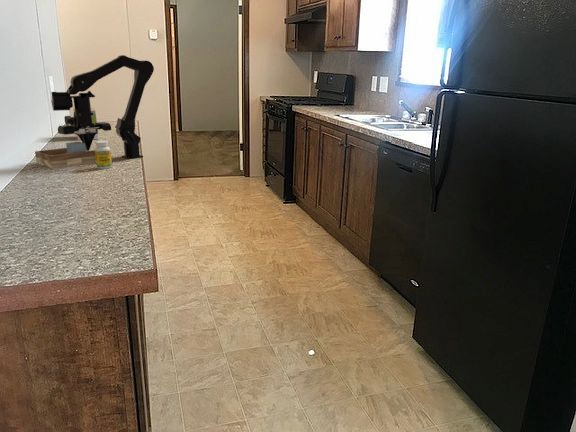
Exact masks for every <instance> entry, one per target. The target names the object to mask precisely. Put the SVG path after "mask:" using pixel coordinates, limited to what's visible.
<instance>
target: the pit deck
mask: <svg viewBox="0 0 576 432" xmlns="http://www.w3.org/2000/svg"><path fill="white" fill-rule="evenodd" d="M34 153H35V160H36V161H35V162H36V163H37V162H38V163H40V164H39V165H41V164H43V165H42V166H44V165H45V166H44V167H46V168H47V167H48V168H50V169H58V168H65V167H73V166H80V165H85V164H93V163H96V156H95V149H94V150H89V151H87V150H86V151H85V152H77V153H69V154H67V147H62V148H53V149H45V150H36V151H34ZM38 163H37V164H38Z"/></svg>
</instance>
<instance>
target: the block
mask: <svg viewBox="0 0 576 432" xmlns="http://www.w3.org/2000/svg"><path fill="white" fill-rule="evenodd" d="M65 145H66V148H67V154H69V153H77V152H85V151H86V148H85V143H82V141H73V142H66V143H65Z"/></svg>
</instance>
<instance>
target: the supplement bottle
mask: <svg viewBox="0 0 576 432" xmlns="http://www.w3.org/2000/svg"><path fill="white" fill-rule="evenodd" d="M108 145H109V143H108V140H100V141H99V140H98V141H97V140H96V141H95V146H96V147H95V148H94V150H95V156H96V162H95V163H96V168H97V169H98V170H104V169H105V170H107V169H111V168H113V162H112V161H113V160H112V152H111V151H112V150H111V147H109V146H108Z"/></svg>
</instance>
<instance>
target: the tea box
mask: <svg viewBox="0 0 576 432" xmlns="http://www.w3.org/2000/svg"><path fill="white" fill-rule="evenodd" d="M74 112H75V108H73V113H74ZM91 112H92V113H93V115H92V123H94V125H95V123H98V121H97V115H96V110H95V109H94V107H91ZM96 132H98V134H96V135H95V137H94V139H97V140H99V139H100V138H99V129H96ZM76 137H77V140H79V141H81V139H80V138H79V136H78V135H76Z"/></svg>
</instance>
